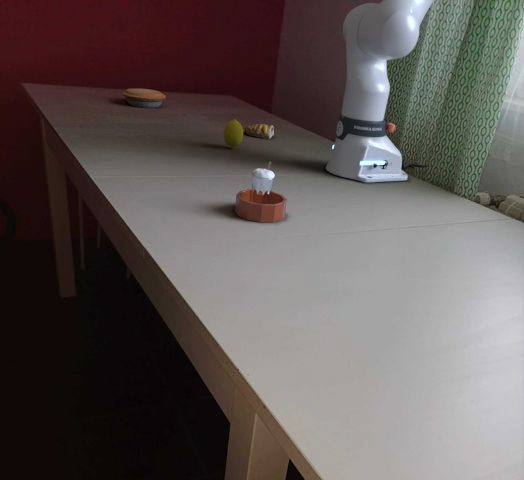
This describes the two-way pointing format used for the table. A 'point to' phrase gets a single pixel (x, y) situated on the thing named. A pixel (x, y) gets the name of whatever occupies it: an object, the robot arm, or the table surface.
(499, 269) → the table surface
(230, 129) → the lemon
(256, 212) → the orange round shallow bowl
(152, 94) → the pie
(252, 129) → the pastry
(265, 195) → the milkshake
